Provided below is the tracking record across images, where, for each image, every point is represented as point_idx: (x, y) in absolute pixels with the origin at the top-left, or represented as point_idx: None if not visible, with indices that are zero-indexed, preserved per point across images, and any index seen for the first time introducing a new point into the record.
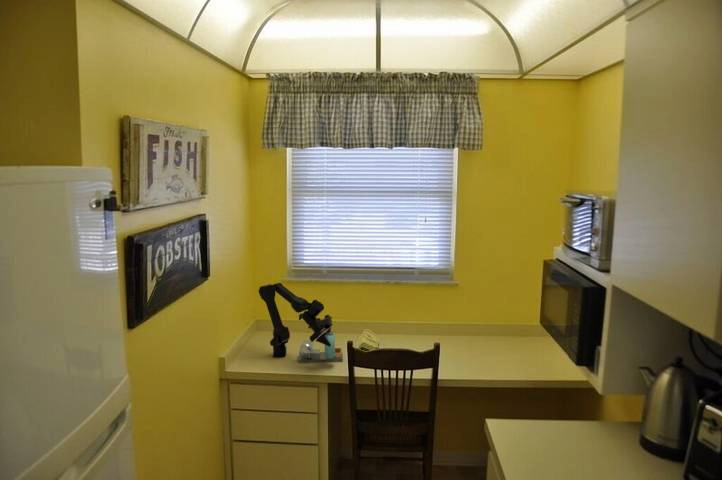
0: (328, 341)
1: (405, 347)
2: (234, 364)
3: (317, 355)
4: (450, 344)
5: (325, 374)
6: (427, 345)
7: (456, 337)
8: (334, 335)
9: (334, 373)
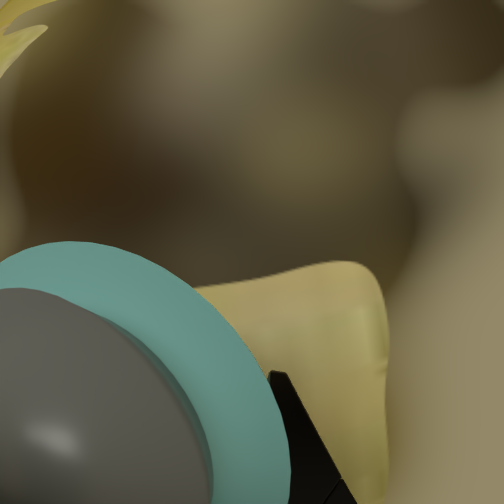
0: (288, 435)
1: (6, 65)
2: None
3: None
4: (37, 3)
5: (377, 380)
6: (19, 30)
7: (4, 12)
8: (123, 255)
9: (350, 320)
